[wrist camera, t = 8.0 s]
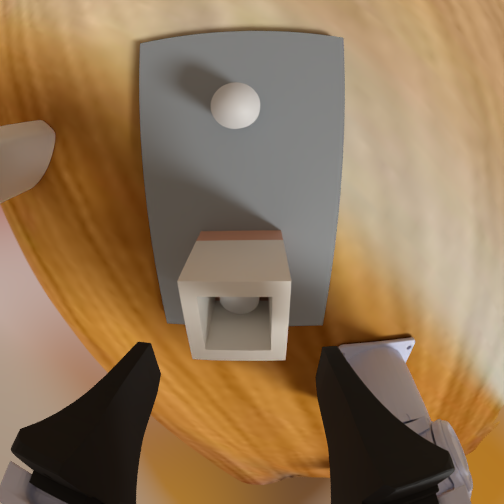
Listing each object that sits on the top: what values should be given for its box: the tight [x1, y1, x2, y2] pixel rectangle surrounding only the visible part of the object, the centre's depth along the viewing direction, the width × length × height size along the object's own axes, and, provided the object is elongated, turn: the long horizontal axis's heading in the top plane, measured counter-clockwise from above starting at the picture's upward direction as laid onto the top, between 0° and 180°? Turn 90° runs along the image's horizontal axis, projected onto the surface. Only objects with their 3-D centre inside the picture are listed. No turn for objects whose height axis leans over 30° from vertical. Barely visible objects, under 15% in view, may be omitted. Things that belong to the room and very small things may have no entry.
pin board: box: [139, 31, 345, 326], centre depth 15 cm, size 20×12×4 cm, turn 0°
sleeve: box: [177, 230, 291, 361], centre depth 16 cm, size 5×5×6 cm
